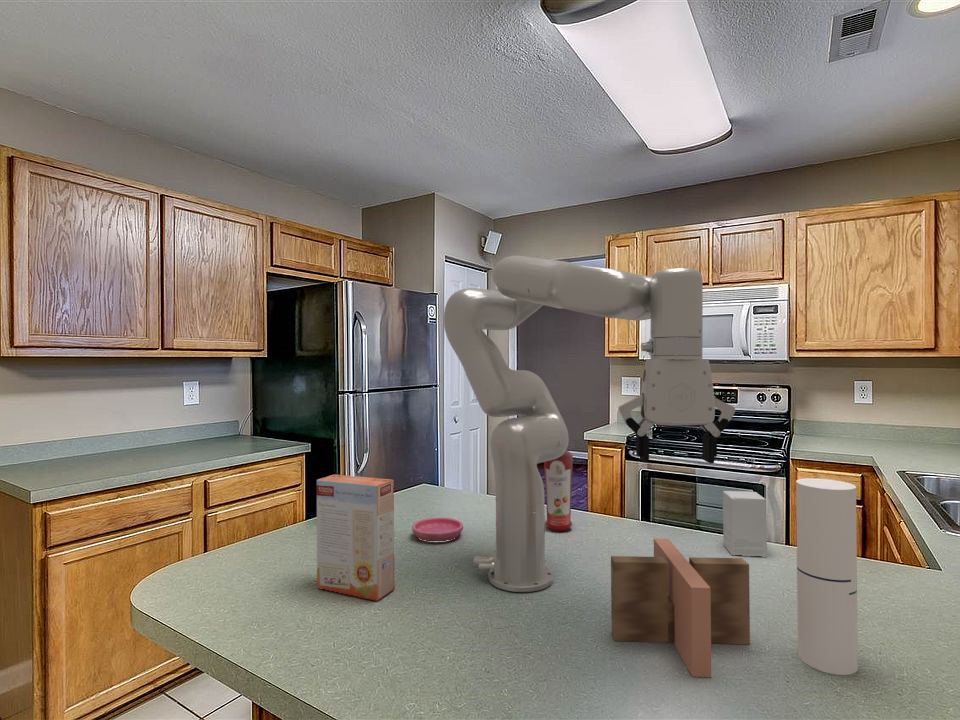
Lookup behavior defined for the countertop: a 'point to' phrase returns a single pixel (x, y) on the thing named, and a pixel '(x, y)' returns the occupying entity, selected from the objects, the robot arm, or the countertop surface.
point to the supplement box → (744, 523)
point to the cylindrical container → (827, 575)
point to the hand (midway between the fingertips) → (676, 461)
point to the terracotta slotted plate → (688, 609)
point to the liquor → (559, 492)
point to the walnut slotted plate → (650, 610)
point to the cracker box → (355, 535)
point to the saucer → (437, 529)
